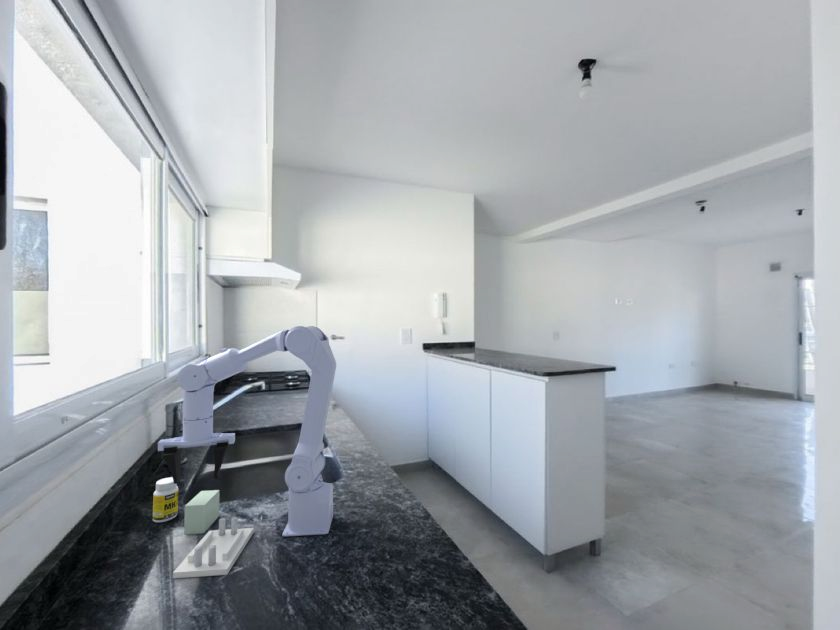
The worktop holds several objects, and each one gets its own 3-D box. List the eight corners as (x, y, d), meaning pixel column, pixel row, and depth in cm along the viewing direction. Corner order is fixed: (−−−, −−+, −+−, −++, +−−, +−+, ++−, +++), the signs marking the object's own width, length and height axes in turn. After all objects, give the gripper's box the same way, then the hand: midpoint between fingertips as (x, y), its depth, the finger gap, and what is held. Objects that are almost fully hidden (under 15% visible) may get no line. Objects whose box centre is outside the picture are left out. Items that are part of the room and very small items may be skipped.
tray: (253, 532, 76) (253, 513, 76) (226, 574, 63) (227, 551, 63) (209, 535, 75) (209, 515, 75) (172, 578, 62) (173, 554, 62)
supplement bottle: (164, 524, 79) (165, 486, 80) (147, 522, 80) (148, 484, 81) (182, 513, 84) (183, 477, 84) (166, 511, 85) (167, 475, 85)
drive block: (219, 516, 83) (219, 490, 83) (204, 533, 76) (204, 504, 76) (200, 517, 82) (201, 490, 83) (184, 534, 76) (184, 505, 76)
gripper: (237, 410, 85) (236, 468, 85) (166, 416, 81) (165, 476, 80) (232, 417, 79) (231, 480, 78) (154, 423, 74) (153, 490, 74)
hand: (197, 479), depth 79 cm, fingers open, 7 cm apart
